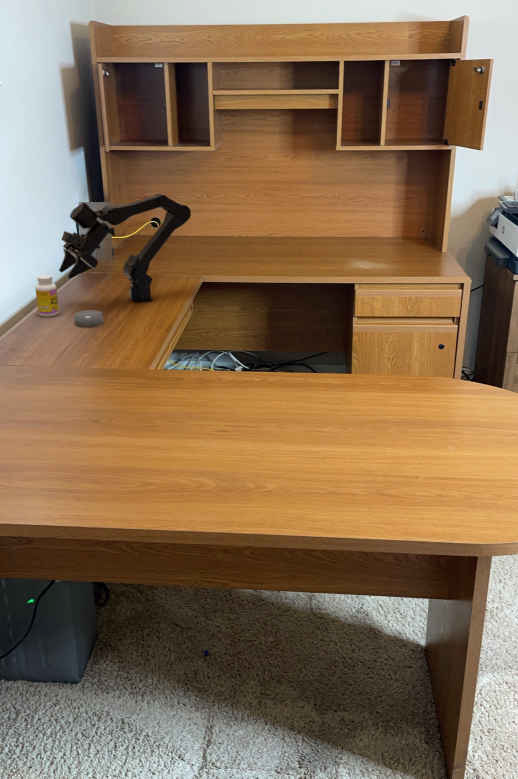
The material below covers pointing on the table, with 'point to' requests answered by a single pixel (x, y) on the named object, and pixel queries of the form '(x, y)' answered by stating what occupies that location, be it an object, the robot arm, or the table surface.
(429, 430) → the table surface
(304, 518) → the table surface
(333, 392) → the table surface
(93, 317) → the puck
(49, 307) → the supplement bottle
